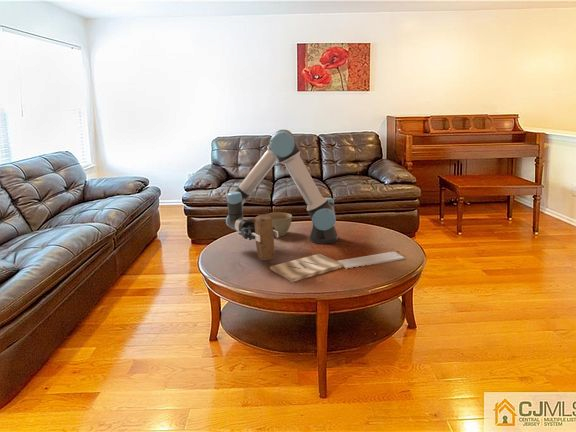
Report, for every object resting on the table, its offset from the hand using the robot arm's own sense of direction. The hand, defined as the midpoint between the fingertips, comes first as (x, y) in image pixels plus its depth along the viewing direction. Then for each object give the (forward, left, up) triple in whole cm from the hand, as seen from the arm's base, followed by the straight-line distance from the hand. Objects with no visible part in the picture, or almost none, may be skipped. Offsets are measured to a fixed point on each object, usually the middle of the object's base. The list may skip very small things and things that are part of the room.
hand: (268, 236), depth 212 cm
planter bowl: (-30, -41, -15) cm, 53 cm away
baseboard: (-42, +22, -15) cm, 50 cm away
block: (0, -4, -11) cm, 12 cm away
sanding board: (-12, +12, -14) cm, 23 cm away
